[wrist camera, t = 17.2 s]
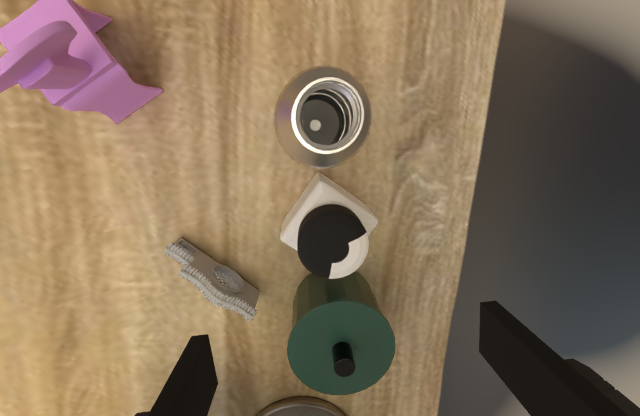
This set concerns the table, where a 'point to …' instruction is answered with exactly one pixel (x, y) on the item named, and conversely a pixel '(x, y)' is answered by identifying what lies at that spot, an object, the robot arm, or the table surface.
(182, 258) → the lattice window wall
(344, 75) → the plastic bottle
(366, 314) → the pot lid
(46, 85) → the toy chair
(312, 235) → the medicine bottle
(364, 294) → the pot
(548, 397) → the robot arm
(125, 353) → the table surface
